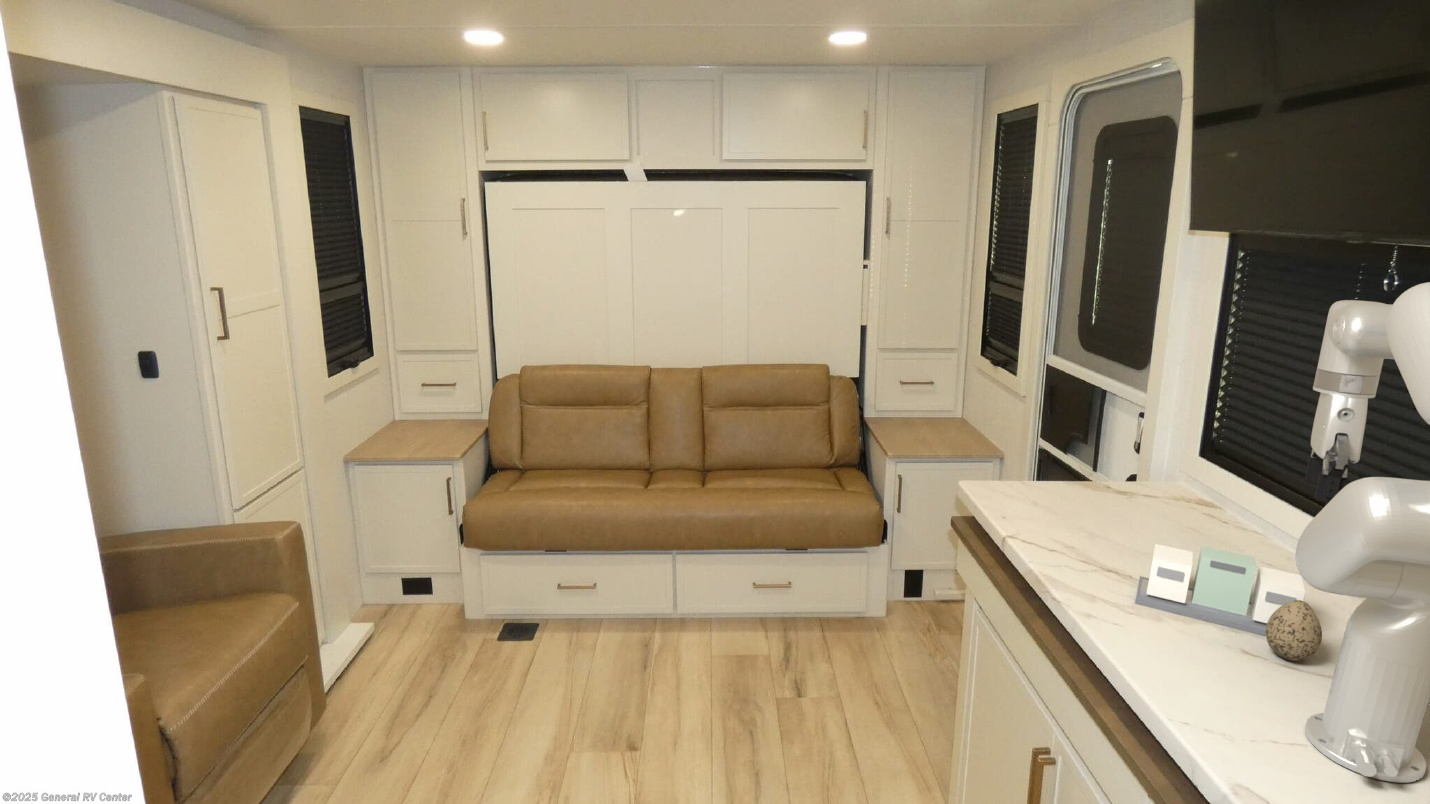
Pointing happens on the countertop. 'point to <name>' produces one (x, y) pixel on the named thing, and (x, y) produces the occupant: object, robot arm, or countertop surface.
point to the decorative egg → (1294, 631)
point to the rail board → (1175, 596)
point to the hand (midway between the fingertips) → (1322, 491)
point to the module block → (1224, 580)
